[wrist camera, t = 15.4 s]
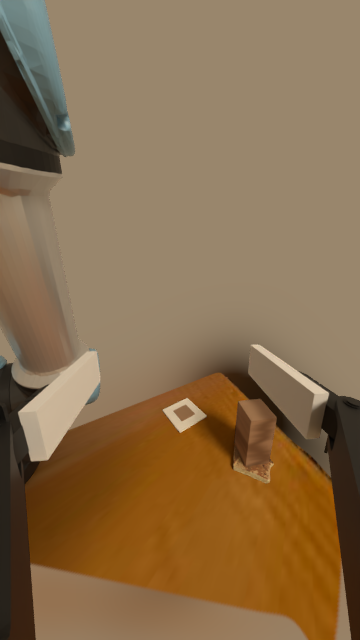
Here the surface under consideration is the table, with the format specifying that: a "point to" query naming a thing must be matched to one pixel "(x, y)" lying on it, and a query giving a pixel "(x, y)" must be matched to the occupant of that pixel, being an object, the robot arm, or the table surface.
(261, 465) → the shard
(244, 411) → the walnut block
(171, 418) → the swatch
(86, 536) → the table surface
